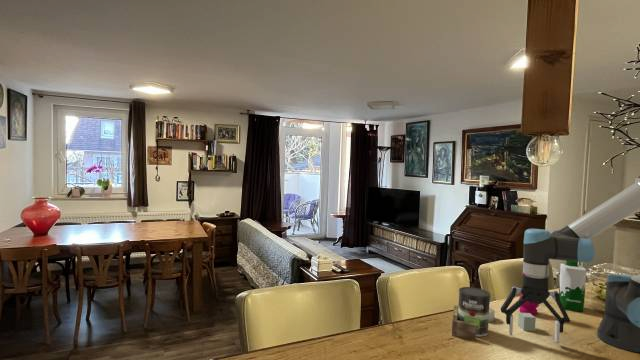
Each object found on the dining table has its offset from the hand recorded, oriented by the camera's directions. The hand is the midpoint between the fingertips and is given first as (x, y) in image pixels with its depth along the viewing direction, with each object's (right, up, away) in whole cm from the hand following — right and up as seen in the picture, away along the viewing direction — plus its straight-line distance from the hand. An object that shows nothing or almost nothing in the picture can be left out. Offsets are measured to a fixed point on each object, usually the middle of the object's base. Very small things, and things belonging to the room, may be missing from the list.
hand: (533, 337), depth 123 cm
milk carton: (+35, -2, +33) cm, 48 cm away
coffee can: (-18, -1, +7) cm, 19 cm away
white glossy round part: (-8, -1, +19) cm, 20 cm away
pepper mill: (+13, -1, +26) cm, 29 cm away
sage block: (+4, -1, +10) cm, 11 cm away
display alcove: (-20, 0, +8) cm, 22 cm away
